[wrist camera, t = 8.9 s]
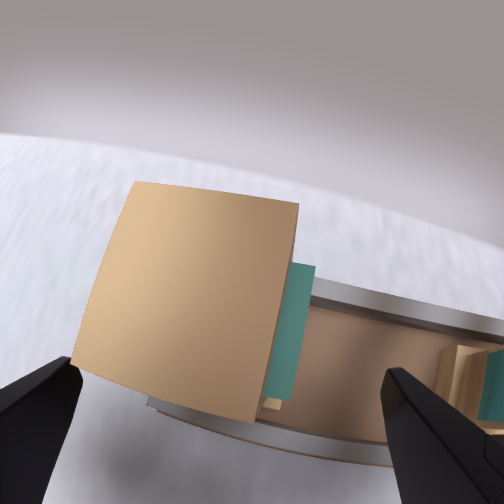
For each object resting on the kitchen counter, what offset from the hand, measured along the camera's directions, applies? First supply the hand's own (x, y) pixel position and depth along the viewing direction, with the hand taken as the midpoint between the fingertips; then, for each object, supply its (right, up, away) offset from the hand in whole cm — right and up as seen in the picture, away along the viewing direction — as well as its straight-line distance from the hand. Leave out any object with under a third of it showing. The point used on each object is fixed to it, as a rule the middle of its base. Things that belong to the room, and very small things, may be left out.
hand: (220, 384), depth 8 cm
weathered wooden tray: (+7, -4, +9) cm, 13 cm away
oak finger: (0, -2, +9) cm, 10 cm away
